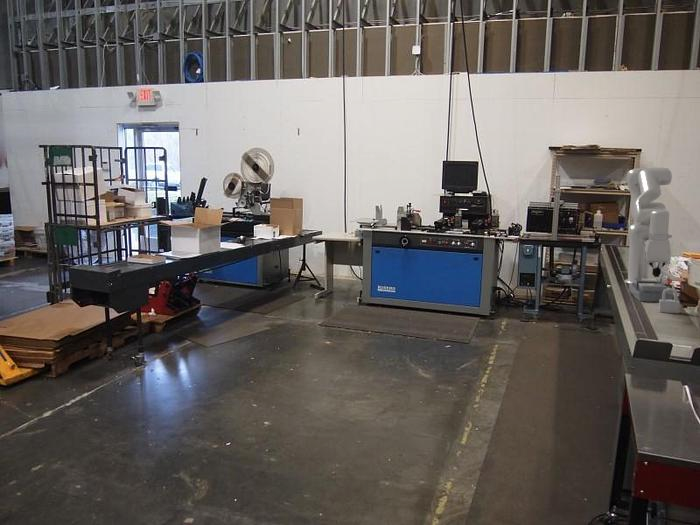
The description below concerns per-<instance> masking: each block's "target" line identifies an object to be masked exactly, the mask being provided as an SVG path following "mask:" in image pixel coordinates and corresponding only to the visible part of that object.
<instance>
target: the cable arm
mask: <svg viewBox="0 0 700 525" xmlns="http://www.w3.org/2000/svg"><path fill="white" fill-rule="evenodd" d="M665 277H667V278H668V279H669V280H671V281H675V282H676V281H678V278H677V277H676V276H674V275H673V274H672V273H670V272H669V271H667V268H666V267H665V268H664V267H662V268H661V272H660V275H659V277H658V280H659V281H660V282H661V284H664V285H665Z"/></svg>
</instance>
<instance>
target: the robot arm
mask: <svg viewBox="0 0 700 525" xmlns="http://www.w3.org/2000/svg"><path fill="white" fill-rule="evenodd" d="M672 179H673V174H672V171H671V170H670V169H669V168H667V167H641V168H640V167H638V168H637V167H636V168H632V169H630V170H628V171H627V174H626V185H627V187H628V190H629V192H630V215H631V218H632V220H634V221H635V223H633V224H631V225H630V226H629V227H628V230H627V233H628V234H627V235H628V243H629V246H628V247H629V249H628V250H629V251H628V271H627V278H626V279H625V280H624V283H625V284H627V285H629V282H632V283H634V278H638V279H650V278H649V275H650V267H652V276H653V277H654V278H659V275H660V272H661V268H664V266H667V265H668V266H669V265H670V264H671V243H670V240H669V239H672V238H673V237H672V235H671V234H669V229H670V228H669V225H670V211H668V210H667V208H666V206H665V204H664V203H662V202H658V201H657V202H653V201H656V200H657V199H659V198H660V197H661V195H662V190H661V186H669V185H670V184H671V183H672ZM656 263H657V265H656Z"/></svg>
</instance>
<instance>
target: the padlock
mask: <svg viewBox="0 0 700 525" xmlns="http://www.w3.org/2000/svg"><path fill="white" fill-rule="evenodd" d="M667 291H669V292H671V293H672V292H673V294H674V295H673V299H672V300H667V299H666V300H665V295H666V292H667ZM680 303H681V302H680V300H679V299H678V291H677V290H676V289H675V288H668V287H667V289H665V290H664V291H663V294H662V299H660V300H659V302H658V305H659V306H658V311H659V313H666V314H667V313H669V314H680V305H681V304H680Z"/></svg>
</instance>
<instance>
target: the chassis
mask: <svg viewBox="0 0 700 525" xmlns="http://www.w3.org/2000/svg"><path fill="white" fill-rule="evenodd" d="M665 289H668V286H666V284H665V283H664V284H661V282H660V281H659V278H649V279H638V278H634V283H632V282H629V284H628V291H629V292H630V293H631V294H632V295H633V297H635V299H636V298H637V299H638V300H639V301H650V302H649V303H659V300H660V299H662V294H663V291H664V290H665ZM637 299H636V300H637ZM666 299H667V300H673V293H672V291H667V292H666V295H665V300H666ZM638 300H637V301H638ZM639 301H638V302H639Z"/></svg>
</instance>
